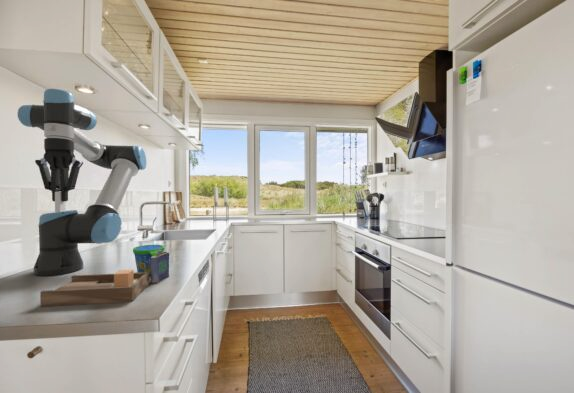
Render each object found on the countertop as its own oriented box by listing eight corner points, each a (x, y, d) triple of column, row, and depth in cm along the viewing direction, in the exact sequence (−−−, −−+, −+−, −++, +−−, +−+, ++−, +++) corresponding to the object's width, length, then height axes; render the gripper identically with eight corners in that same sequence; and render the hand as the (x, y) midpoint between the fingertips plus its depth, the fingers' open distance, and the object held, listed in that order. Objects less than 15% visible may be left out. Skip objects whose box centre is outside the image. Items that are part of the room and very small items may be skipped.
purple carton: (155, 284, 94) (155, 252, 94) (147, 283, 94) (147, 252, 94) (170, 276, 103) (170, 247, 103) (163, 275, 103) (163, 246, 103)
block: (119, 283, 87) (119, 270, 87) (133, 282, 88) (133, 269, 88) (113, 287, 83) (113, 274, 83) (128, 286, 84) (128, 273, 84)
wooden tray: (73, 287, 90) (73, 275, 90) (149, 284, 94) (149, 272, 94) (40, 306, 75) (40, 291, 75) (132, 301, 79) (132, 287, 79)
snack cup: (168, 276, 102) (168, 248, 102) (136, 282, 96) (136, 252, 96) (160, 267, 115) (159, 242, 115) (130, 271, 109) (130, 245, 109)
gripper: (27, 136, 86) (29, 212, 87) (74, 137, 88) (75, 212, 89) (44, 140, 94) (45, 211, 94) (87, 141, 96) (88, 210, 96)
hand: (60, 211), depth 91 cm, fingers closed
